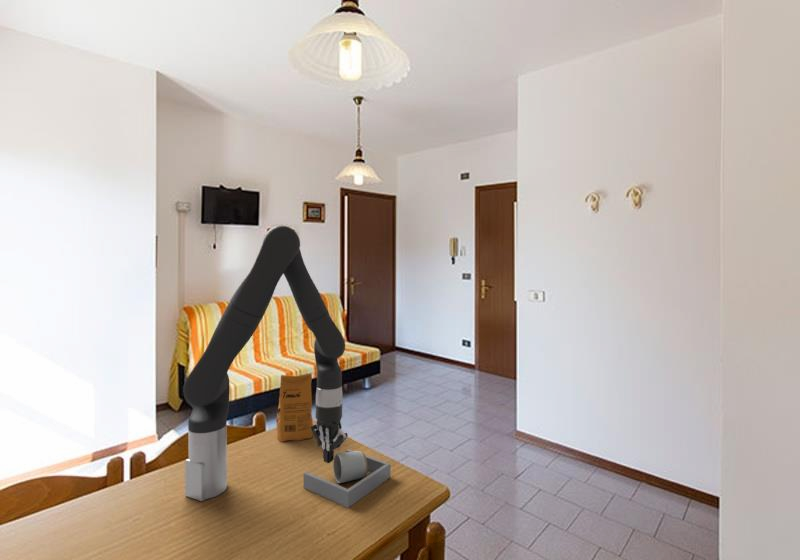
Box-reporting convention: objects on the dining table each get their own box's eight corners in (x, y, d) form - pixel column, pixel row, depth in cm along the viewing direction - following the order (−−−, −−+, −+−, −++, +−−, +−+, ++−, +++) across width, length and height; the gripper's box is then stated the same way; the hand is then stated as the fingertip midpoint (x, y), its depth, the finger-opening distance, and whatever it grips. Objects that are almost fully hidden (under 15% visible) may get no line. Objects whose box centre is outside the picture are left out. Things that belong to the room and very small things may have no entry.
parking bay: (347, 507, 102) (348, 492, 102) (303, 487, 111) (303, 473, 111) (390, 477, 117) (390, 463, 117) (348, 461, 126) (348, 449, 126)
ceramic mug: (369, 481, 115) (369, 454, 115) (341, 488, 111) (341, 460, 111) (355, 465, 124) (355, 440, 124) (329, 471, 120) (329, 445, 120)
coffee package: (276, 432, 148) (276, 371, 148) (312, 429, 151) (312, 369, 151) (275, 443, 139) (275, 379, 138) (313, 440, 142) (313, 376, 141)
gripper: (303, 400, 118) (302, 460, 119) (337, 410, 111) (336, 473, 111) (322, 394, 124) (321, 450, 125) (355, 403, 117) (354, 463, 117)
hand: (328, 461), depth 118 cm, fingers closed
